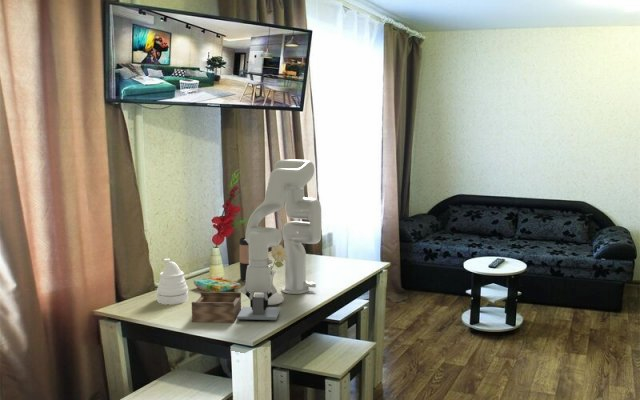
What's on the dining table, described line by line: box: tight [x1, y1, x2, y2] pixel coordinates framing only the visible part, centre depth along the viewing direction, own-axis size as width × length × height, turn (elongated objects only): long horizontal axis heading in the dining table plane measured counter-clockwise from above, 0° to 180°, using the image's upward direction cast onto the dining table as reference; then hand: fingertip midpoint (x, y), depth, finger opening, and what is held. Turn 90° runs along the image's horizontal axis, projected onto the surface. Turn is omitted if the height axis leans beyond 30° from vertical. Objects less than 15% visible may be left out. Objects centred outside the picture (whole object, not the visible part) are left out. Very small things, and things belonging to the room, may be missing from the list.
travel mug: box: [239, 237, 249, 282], centre depth 274 cm, size 8×8×20 cm
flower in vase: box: [260, 243, 287, 306], centre depth 236 cm, size 13×11×25 cm
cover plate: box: [236, 293, 281, 321], centre depth 219 cm, size 15×12×7 cm
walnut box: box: [191, 291, 242, 324], centre depth 220 cm, size 16×14×8 cm
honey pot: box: [156, 258, 189, 305], centre depth 241 cm, size 13×13×18 cm
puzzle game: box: [193, 275, 242, 292], centre depth 257 cm, size 12×5×20 cm
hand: (259, 308), depth 219 cm, fingers closed on cover plate, 4 cm apart
